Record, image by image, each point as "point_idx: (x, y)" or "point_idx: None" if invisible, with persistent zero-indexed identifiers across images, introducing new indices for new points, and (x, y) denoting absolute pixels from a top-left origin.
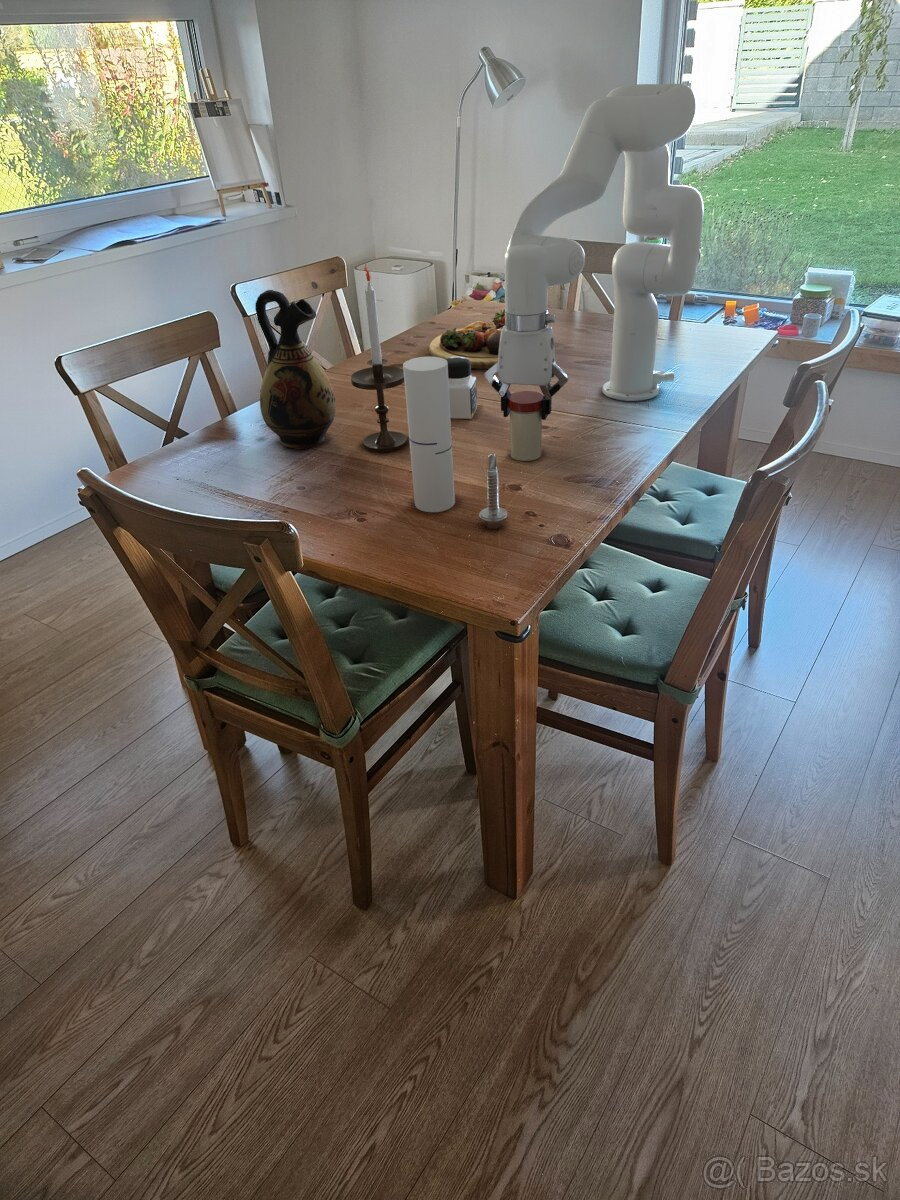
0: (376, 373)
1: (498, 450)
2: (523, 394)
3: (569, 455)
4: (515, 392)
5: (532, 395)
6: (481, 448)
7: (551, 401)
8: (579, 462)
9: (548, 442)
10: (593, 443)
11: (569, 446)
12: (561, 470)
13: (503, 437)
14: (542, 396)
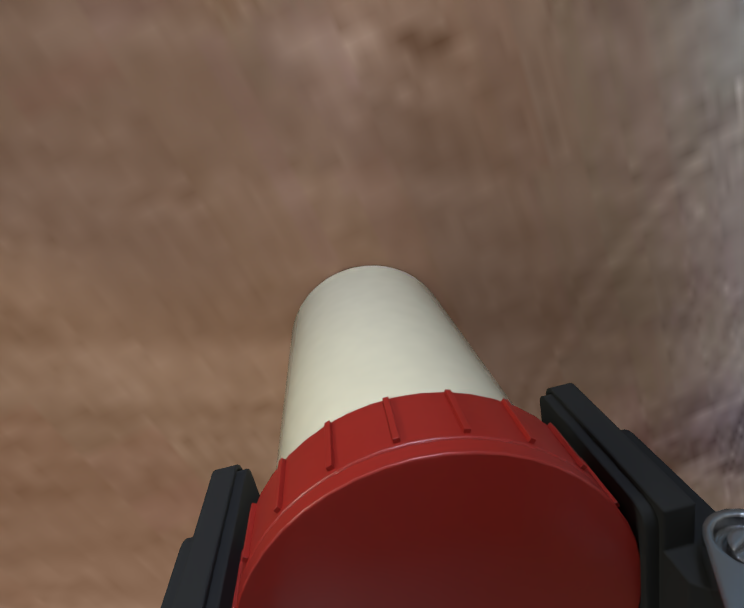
0: None
1: (213, 352)
2: (379, 581)
3: (573, 254)
4: (252, 573)
5: (495, 563)
6: (116, 368)
7: (688, 488)
8: (636, 306)
9: (413, 140)
10: (661, 44)
11: (543, 145)
12: None
13: (129, 182)
14: (617, 541)
